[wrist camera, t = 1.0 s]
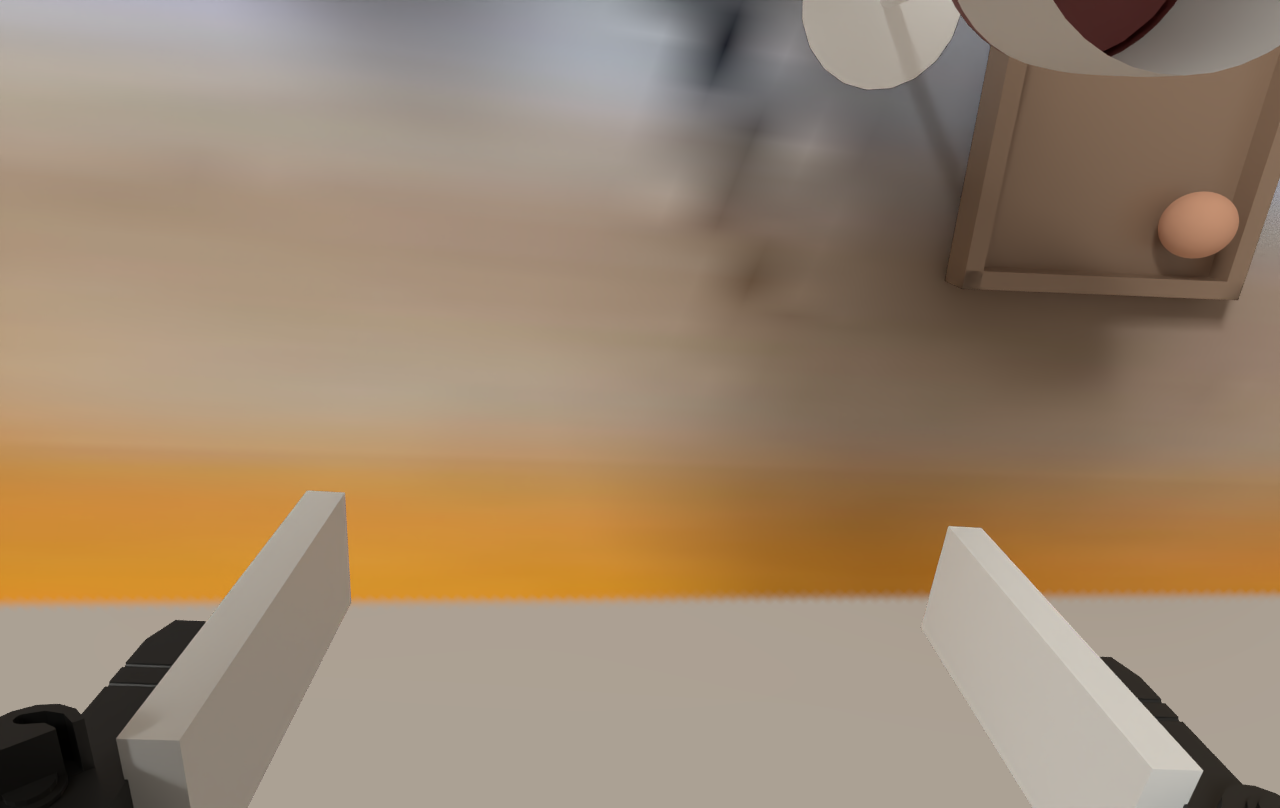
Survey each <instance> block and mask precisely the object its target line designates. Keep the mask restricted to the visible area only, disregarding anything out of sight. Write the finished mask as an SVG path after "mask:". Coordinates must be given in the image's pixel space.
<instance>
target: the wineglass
mask: <svg viewBox="0 0 1280 808" xmlns="http://www.w3.org/2000/svg"><path fill="white" fill-rule="evenodd" d="M960 14H961V16H962V17H963V19H964V20H965V21H966V23H967V24H968V25H969V26H970V27H971V28H972V29H973V30H974V31H975V32H976V33H977V34H978V35H979V36H980V37H981V38H982V39H983V40H984V41H985V42H987V43H988V44H990V45H991V46H993V47H994V48H995V49H997V50H998V51H1000V52H1001V53H1003V54H1005V55H1008V56H1010V57H1012V58H1014V59H1017V60H1019V61H1021V62H1023V63H1026V64H1030V65H1034V66H1038V67H1042V68H1046V69H1050V70H1055V71H1060V72H1067V73H1076V74H1090V75H1106V76H1133V77H1161V76H1185V75H1195V74H1204V73H1213V72H1217V71H1221V70H1224V69H1228V68H1232V67H1235V66H1239V65H1242V64H1244V63H1246V62H1249V61H1251V60H1253V59H1255V58H1258V57H1260V56H1262V55H1264V54H1266V53H1269V52H1270V51H1272V50H1273V49H1275V48H1276V47H1278V46H1280V0H803V7H802V21H803V25H804V28H805V32H806V36H807V39H808V43H809V46H810V48H811V50H812V51H813V53H814V54H815V56H816V57H817V59H818V60H819V62H820V63H821V65H822V66H823V68H824V69H825V70H827V71H828V72H829V73H831V74H832V75H833V76H835V77H836V78H837V79H839V80H840V81H842V82H843V83H845V84H849V85H852V86H855V87H859V88H862V89H866V90H871V89H886V88H893V87H895V86H897V85H900V84H902V83H905V82H907V81H910V80H912V79H914V78H916V77H917V76H918V75H919V74H921V73H922V72H923V71H924V70H926V69H927V68H928V67H929V66H930V65H932V64H933V63H934V62H935V61H936V60H937V59H938V57H939V56H940V54H941V53H942V52H943V50H944V49H945V47H946V46H947V44H948V43H949V41H950V40H951V39H952V37H953V34H954V31H955V28H956V26H957V23H958V20H959V17H960Z"/></svg>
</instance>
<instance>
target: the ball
mask: <svg viewBox="0 0 1280 808" xmlns="http://www.w3.org/2000/svg"><path fill="white" fill-rule="evenodd" d="M1238 226H1239V215H1238V211H1237V209H1236V207H1235V206H1234V204H1233V203H1232V202H1231V201H1230V200H1229V199H1227V198H1226V197H1225V196H1222V195H1220V194H1218V193H1214V192H1206V191H1202V192H1194V193H1190V194H1187V195H1184V196H1182V197H1180V198H1178V199H1176V200H1175V201H1174V202H1172V203H1171V204H1170V205H1169V206H1168V207H1167V208H1166V209H1165V211H1164V212H1163V213H1162V215H1161V217H1160V220H1159V223H1158V236H1159V239H1160V241H1161V243H1162V245H1163V246H1164V247H1165V248H1166V249H1167V250H1168V251H1169V252H1171V253H1172V254H1174V255H1176V256H1179V257H1183V258H1190V259H1192V258H1203V257H1207V256H1210V255H1212V254H1215V253H1217V252H1219V251H1220V250H1222V249H1223V248H1225V247H1226V246H1227V245H1228V244H1229V243H1230V242H1231V241H1232V239H1233V238H1234V236H1235V234H1236V232H1237V230H1238Z"/></svg>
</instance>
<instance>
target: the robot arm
mask: <svg viewBox="0 0 1280 808" xmlns="http://www.w3.org/2000/svg"><path fill="white" fill-rule="evenodd" d="M350 604H351V591H350V574H349V556H348V539H347V521H346V504H345V493H341V492H323V491H306V493H305V494H304V495H303V497H302V498H301V499H300V501H299V502H298V503H297V504H296V506H295V507H294V508H293V510H292V511H291V512H290V514H289V515H288V516H287V517H286V519H285V520H284V521H283V523H282V524H281V525H280V526H279V528H278V529H277V530H276V532H275V533H274V534H273V536H272V537H271V538H270V539H269V541H268V542H267V543H266V545H265V546H264V547H263V549H262V550H261V551H260V552H259V554H258V555H257V556H256V558H255V559H254V560H253V562H252V563H251V564H250V565H249V567H248V568H247V569H246V571H245V572H244V573H243V575H242V576H241V577H240V578H239V580H238V581H237V582H236V584H235V585H234V586H233V587H232V589H231V590H230V591H229V593H228V594H227V595H226V597H225V598H224V599H223V600H222V602H221V603H220V604H219V606H218V607H217V608H216V610H215V611H214V612H213V613H212V615H211V616H210V617H209V619H208V620H207V621H183V620H175V621H173V622H172V623H171V624H169V625H167V626H166V627H164V628H163V629H161V630H160V631H158V632H157V633H155V634H153V635H152V636H150V637H149V638H147V639H146V640H145V641H144V642H143V643H142V644H141V646H140V647H139V648H138V649H137V650H136V651H135V653H134V654H133V655H132V656H131V657H130V659H129V660H128V661H127V662H126V665H125V667H122V668H121V669H120V670H119V671H118V673H117V674H116V675H115V676H114V677H113V678H112V679H111V680H110V683H109V686H108V687H104V689H103V690H102V691H101V692H100V693H99V695H98V696H97V697H96V698H95V699H94V700H93V702H92V703H91V704H90V705H89V706H88V707H87V709H86V710H85V711H84V712H83V713H82V714H80V713H79V712H78V711H77V709H75V708H72V707H68V706H65V705H61V704H48V705H35V706H32V707H27V708H23V709H20V710H16V711H12V712H10V713H7V714H5V715H3V716H1V717H0V808H248V806H249V804H250V802H251V800H252V798H253V796H254V794H255V792H256V790H257V788H258V786H259V784H260V782H261V780H262V778H263V776H264V774H265V772H266V770H267V768H268V766H269V764H270V762H271V760H272V758H273V756H274V754H275V752H276V750H277V748H278V746H279V744H280V742H281V740H282V738H283V736H284V734H285V732H286V730H287V728H288V726H289V725H290V723H291V720H292V719H293V717H294V715H295V713H296V711H297V709H298V707H299V705H300V702H301V701H302V699H303V697H304V695H305V693H306V691H307V689H308V687H309V685H310V683H311V681H312V679H313V677H314V675H315V673H316V671H317V669H318V667H319V665H320V663H321V661H322V659H323V657H324V655H325V653H326V651H327V649H328V647H329V645H330V643H331V641H332V640H333V638H334V635H335V634H336V632H337V630H338V627H339V625H340V624H341V622H342V620H343V618H344V616H345V614H346V612H347V610H348V608H349V606H350ZM921 629H922V631H923V632H924V634H925V635H926V637H927V639H928V640H929V642H930V644H931V645H932V647H933V648H934V650H935V652H936V653H937V655H938V657H939V658H940V660H941V661H942V663H943V664H944V666H945V668H946V669H947V671H948V673H949V674H950V676H951V677H952V679H953V681H954V682H955V684H956V685H957V687H958V689H959V690H960V692H961V693H962V695H963V697H964V698H965V700H966V702H967V703H968V705H969V706H970V708H971V709H972V711H973V713H974V714H975V716H976V718H977V719H978V721H979V722H980V724H981V726H982V727H983V729H984V731H985V732H986V734H987V735H988V737H989V738H990V740H991V742H992V743H993V745H994V746H995V748H996V750H997V752H998V753H999V754H1000V756H1001V758H1002V759H1003V761H1004V763H1005V764H1006V766H1007V768H1008V769H1009V771H1010V772H1011V774H1012V776H1013V777H1014V779H1015V781H1016V782H1017V783H1018V785H1019V787H1020V788H1021V790H1022V792H1023V793H1024V795H1025V797H1026V798H1027V800H1028V801H1029V803H1030V805H1031V806H1032V808H1280V796H1279V795H1278V794H1276V793H1273V792H1270V791H1267V790H1264V789H1261V788H1259V787H1256V786H1250V785H1243V784H1242V783H1241V782H1240V781H1239V780H1238V779H1237V778H1236V777H1235V776H1234V775H1233V774H1232V773H1231V772H1230V771H1229V770H1228V769H1227V768H1226V767H1225V766H1224V765H1223V764H1222V762H1221V761H1220V760H1219V759H1218V758H1217V757H1216V756H1215V755H1214V754H1213V753H1212V752H1211V751H1210V750H1209V749H1208V748H1207V747H1206V746H1205V745H1204V744H1203V743H1202V741H1201V740H1200V739H1199V738H1198V737H1197V736H1196V735H1195V734H1194V733H1193V732H1192V731H1191V730H1190V729H1189V728H1188V727H1187V726H1186V725H1185V724H1184V723H1183V722H1179V720H1178V716H1177V715H1176V714H1175V713H1174V712H1173V711H1172V710H1171V709H1170V708H1169V707H1168V706H1167V705H1166V704H1164V703H1161V699H1160V697H1159V696H1157V694H1156V693H1155V692H1154V691H1153V690H1152V689H1151V688H1150V687H1149V686H1148V685H1147V684H1146V683H1145V682H1144V681H1143V680H1142V679H1141V678H1140V677H1139V676H1138V675H1136V674H1135V673H1133V672H1132V671H1130V670H1129V669H1128V668H1126V667H1125V666H1123V665H1122V664H1120V663H1119V662H1117V661H1116V660H1114V659H1113V658H1112V657H1099V656H1098V655H1097V654H1096V653H1095V652H1094V651H1093V649H1092V648H1091V647H1090V646H1089V645H1088V644H1087V643H1086V642H1085V641H1084V640H1083V639H1082V638H1081V637H1080V635H1079V634H1078V633H1077V632H1076V631H1075V630H1074V629H1073V628H1072V627H1071V626H1070V624H1069V623H1068V622H1067V621H1066V620H1065V619H1064V618H1063V617H1062V616H1061V615H1060V614H1059V612H1058V611H1057V610H1056V609H1055V608H1054V607H1053V606H1052V605H1051V604H1050V602H1049V601H1048V600H1047V599H1046V598H1045V597H1044V596H1043V595H1042V594H1041V593H1040V592H1039V590H1038V589H1037V588H1036V587H1035V586H1034V585H1033V584H1032V583H1031V582H1030V581H1029V580H1028V578H1027V577H1026V576H1025V575H1024V574H1023V573H1022V572H1021V571H1020V570H1019V569H1018V568H1017V566H1016V565H1015V564H1014V563H1013V562H1012V561H1011V560H1010V559H1009V558H1008V557H1007V555H1006V554H1005V553H1004V552H1003V551H1002V550H1001V549H1000V548H999V547H998V546H997V545H996V543H995V542H994V541H993V540H992V539H991V538H990V537H989V536H988V535H987V534H986V533H985V531H984V530H983V529H982V528H973V527H955V526H948V530H947V533H946V537H945V541H944V544H943V548H942V551H941V555H940V559H939V562H938V566H937V570H936V573H935V577H934V581H933V584H932V588H931V592H930V595H929V599H928V603H927V606H926V610H925V614H924V618H923V621H922V625H921Z"/></svg>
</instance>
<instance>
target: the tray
mask: <svg viewBox="0 0 1280 808" xmlns="http://www.w3.org/2000/svg"><path fill="white" fill-rule="evenodd" d="M1279 178H1280V46H1278V47H1276V48H1275V49H1273V50H1272V51H1270V52H1269V53H1266V54H1264V55H1262V56H1260V57H1258V58H1255V59H1253V60H1251V61H1249V62H1246V63H1244V64H1242V65H1239V66H1235V67H1232V68H1228V69H1224V70H1221V71H1217V72H1213V73H1204V74H1195V75H1185V76H1161V77H1133V76H1106V75H1090V74H1076V73H1067V72H1060V71H1055V70H1050V69H1046V68H1042V67H1038V66H1034V65H1030V64H1026V63H1023V62H1021V61H1019V60H1017V59H1014V58H1012V57H1010V56H1008V55H1005V54H1003V53H1001V52H1000V51H998V50H997V49H995V48H994V47H993V46H991V47H990V52H989V57H988V62H987V67H986V72H985V77H984V83H983V88H982V93H981V98H980V103H979V108H978V113H977V118H976V124H975V129H974V134H973V139H972V144H971V149H970V154H969V159H968V165H967V170H966V175H965V180H964V185H963V190H962V195H961V200H960V206H959V211H958V216H957V221H956V226H955V231H954V236H953V241H952V247H951V252H950V257H949V262H948V267H947V272H946V277H945V281H946V282H949V283H951V284H953V285H955V286H957V287H959V288H961V289H979V290H1004V291H1028V292H1052V293H1076V294H1100V295H1124V296H1149V297H1173V298H1197V299H1221V300H1238V299H1239V296H1240V293H1241V290H1242V287H1243V284H1244V281H1245V279H1246V276H1247V273H1248V270H1249V267H1250V264H1251V261H1252V258H1253V255H1254V252H1255V249H1256V246H1257V243H1258V240H1259V237H1260V234H1261V231H1262V228H1263V225H1264V222H1265V219H1266V216H1267V213H1268V210H1269V207H1270V204H1271V201H1272V198H1273V195H1274V192H1275V190H1276V187H1277V184H1278V181H1279ZM1202 191H1206V192H1214V193H1218V194H1220V195H1222V196H1225V197H1226V198H1227V199H1229V200H1230V201H1231V202H1232V203H1233V204H1234V206H1235V207H1236V209H1237V211H1238V215H1239V226H1238V230H1237V232H1236V234H1235V236H1234V238H1233V239H1232V241H1231V242H1230V243H1229V244H1228V245H1227V246H1226V247H1225V248H1223V249H1222V250H1220V251H1219V252H1217V253H1215V254H1212V255H1210V256H1207V257H1203V258H1192V259H1190V258H1183V257H1179V256H1176V255H1174V254H1172V253H1171V252H1169V251H1168V250H1167V249H1166V248H1165V247H1164V246H1163V245H1162V243H1161V241H1160V239H1159V236H1158V223H1159V220H1160V217H1161V215H1162V213H1163V212H1164V211H1165V209H1166V208H1167V207H1168V206H1169V205H1170V204H1171V203H1172V202H1174V201H1175V200H1176V199H1178V198H1180V197H1182V196H1184V195H1187V194H1190V193H1194V192H1202Z"/></svg>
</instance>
